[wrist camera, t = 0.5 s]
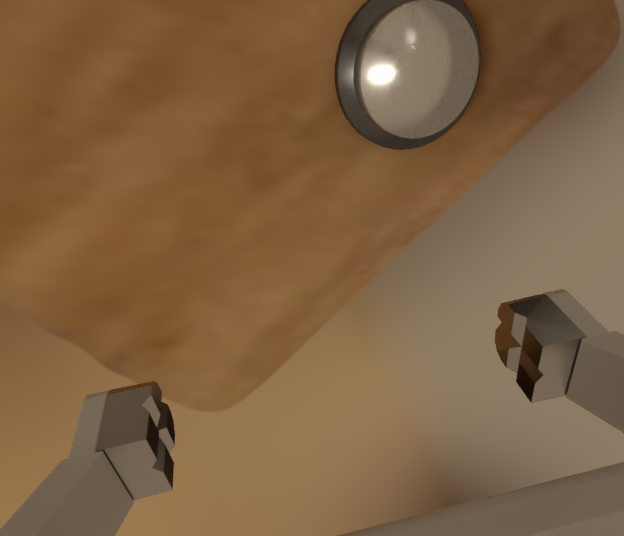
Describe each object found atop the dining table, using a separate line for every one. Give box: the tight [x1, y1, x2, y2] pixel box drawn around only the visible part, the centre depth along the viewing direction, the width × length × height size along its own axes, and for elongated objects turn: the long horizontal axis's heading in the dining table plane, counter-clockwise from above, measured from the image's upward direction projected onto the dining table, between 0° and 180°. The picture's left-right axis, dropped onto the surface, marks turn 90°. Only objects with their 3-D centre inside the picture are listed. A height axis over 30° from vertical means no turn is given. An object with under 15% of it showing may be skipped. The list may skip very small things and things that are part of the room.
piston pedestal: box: [335, 0, 480, 150], centre depth 47 cm, size 15×15×3 cm
